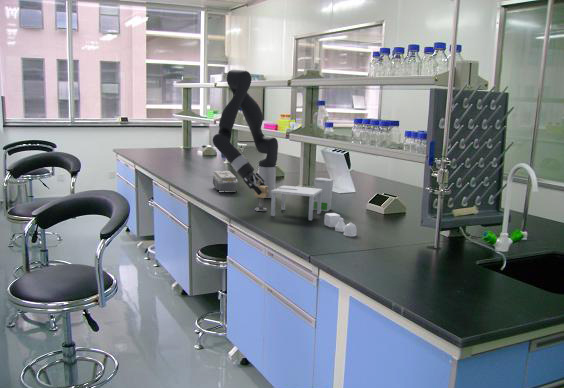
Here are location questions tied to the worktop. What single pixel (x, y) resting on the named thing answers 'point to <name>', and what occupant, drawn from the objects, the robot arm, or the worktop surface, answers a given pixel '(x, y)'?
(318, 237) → the worktop surface
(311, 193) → the white slotted table
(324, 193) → the skincare box
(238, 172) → the robot arm
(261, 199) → the tan block with stem
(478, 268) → the worktop surface
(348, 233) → the container set
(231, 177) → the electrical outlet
